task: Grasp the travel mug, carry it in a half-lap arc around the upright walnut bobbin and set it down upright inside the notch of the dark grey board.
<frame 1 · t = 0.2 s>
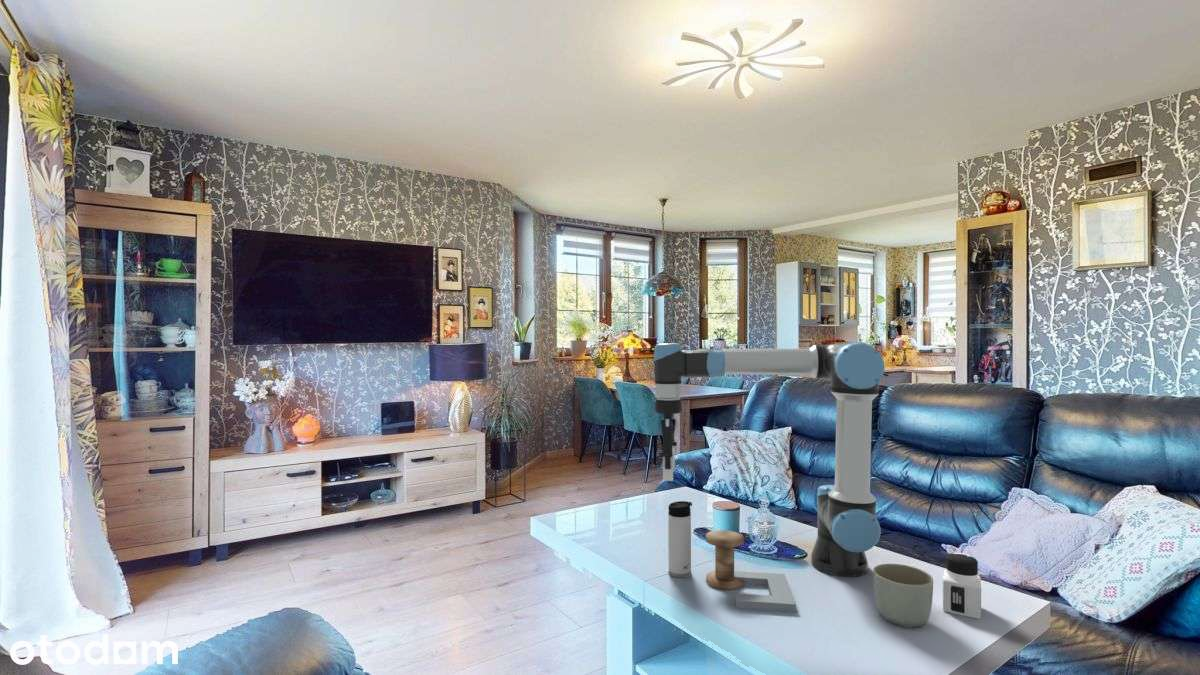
hand: (669, 474, 163), 28 cm above the table, fingers open, 13 cm apart
planter: (902, 621, 136), on the table
container: (961, 610, 142), on the table
bobbin: (724, 582, 158), on the table
travel mug: (680, 574, 163), on the table
notched board: (761, 594, 150), on the table
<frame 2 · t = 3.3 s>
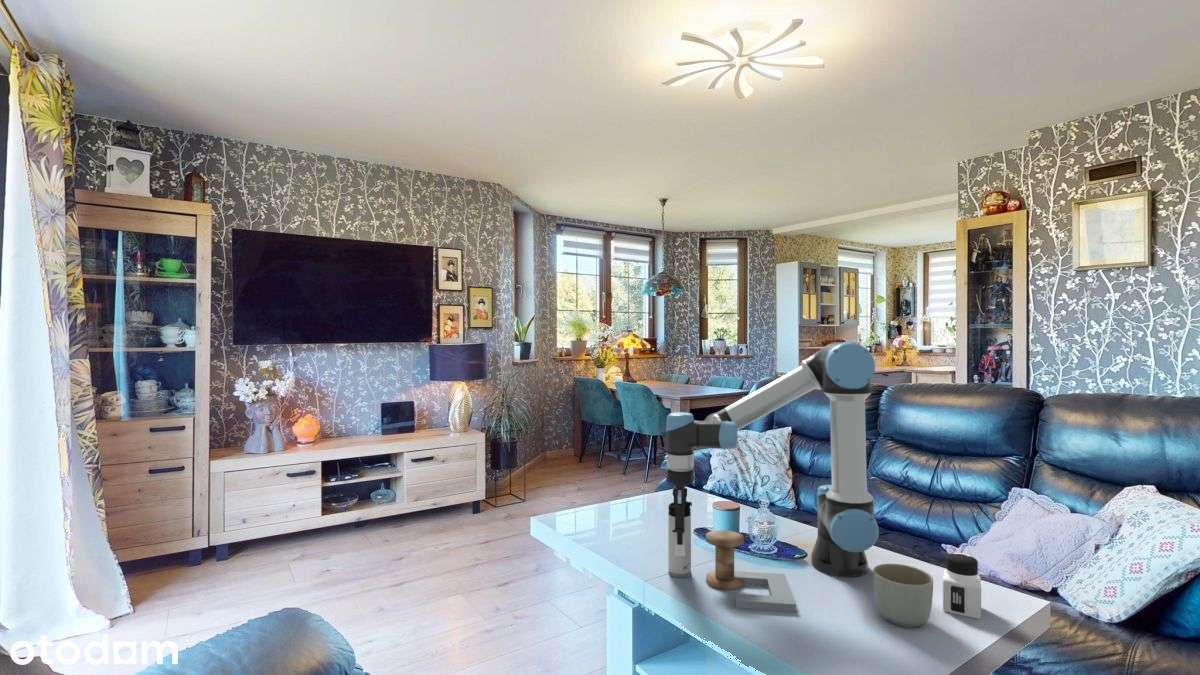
hand: (680, 550, 163), 6 cm above the table, fingers closed on travel mug, 6 cm apart
travel mug: (680, 574, 163), on the table, touching gripper
everything else where it was.
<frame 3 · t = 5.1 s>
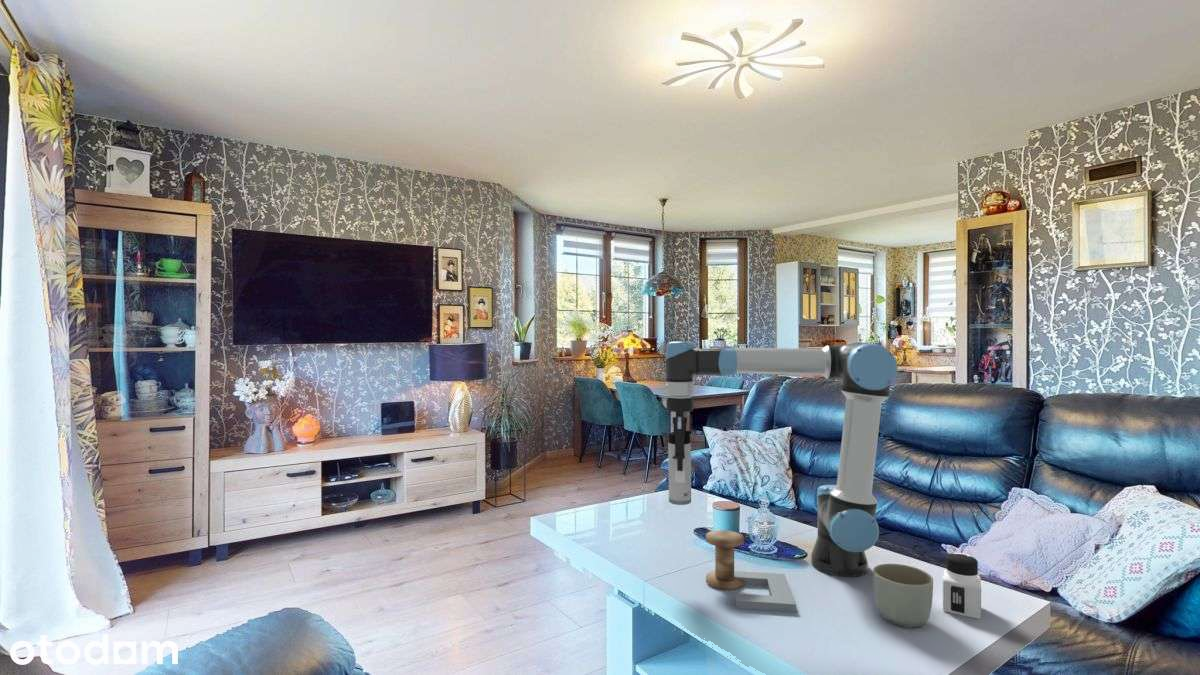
hand: (680, 478, 163), 27 cm above the table, fingers closed on travel mug, 6 cm apart
travel mug: (680, 502, 163), point 20 cm above the table, touching gripper
everything else where it was.
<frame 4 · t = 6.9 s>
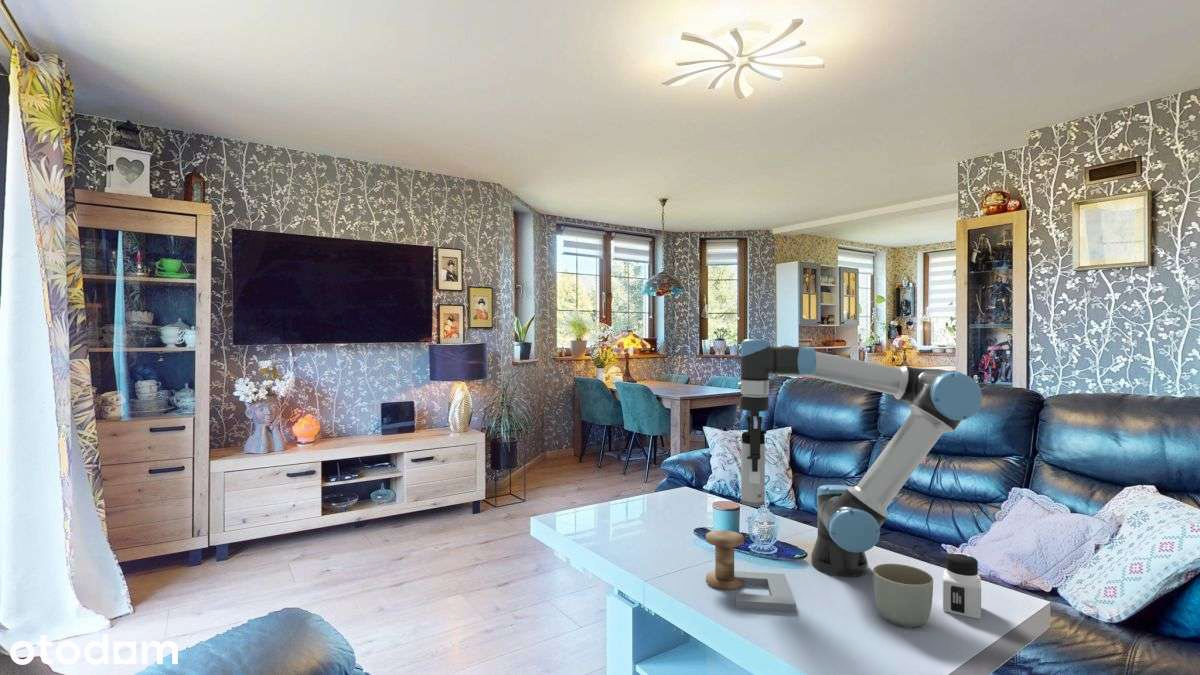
hand: (753, 479, 159), 27 cm above the table, fingers closed on travel mug, 6 cm apart
travel mug: (753, 504, 160), point 20 cm above the table, touching gripper
everything else where it was.
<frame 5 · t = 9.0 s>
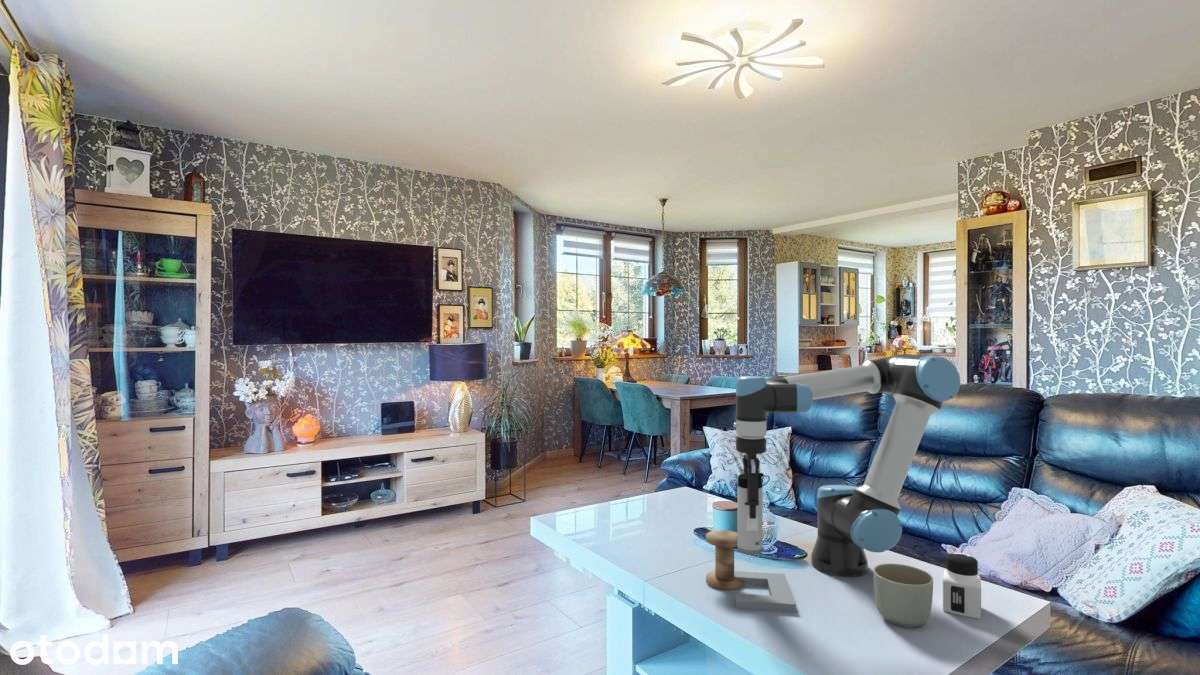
hand: (750, 525, 150), 18 cm above the table, fingers closed on travel mug, 6 cm apart
travel mug: (750, 551, 151), point 11 cm above the table, touching gripper
everything else where it was.
when the fingers open (8 cm above the table, at t = 10.7 s): travel mug drops 2 cm, on the table.
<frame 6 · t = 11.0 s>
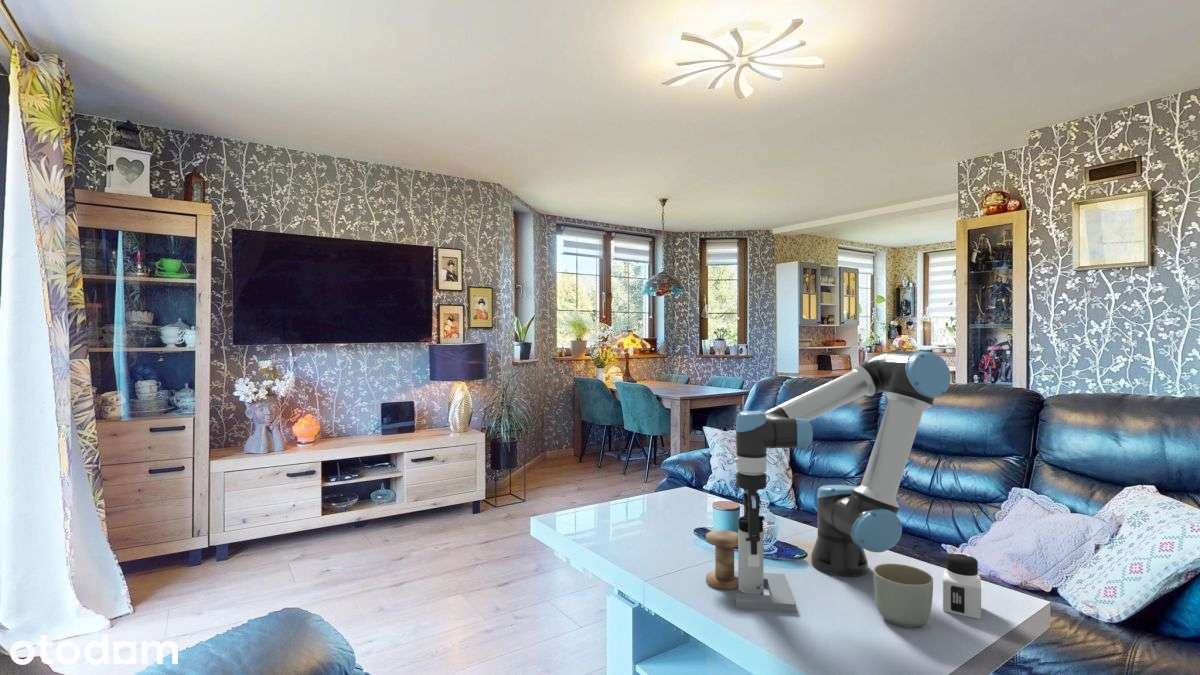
hand: (751, 558, 151), 9 cm above the table, fingers open, 9 cm apart
travel mug: (751, 594, 151), on the table
everything else where it was.
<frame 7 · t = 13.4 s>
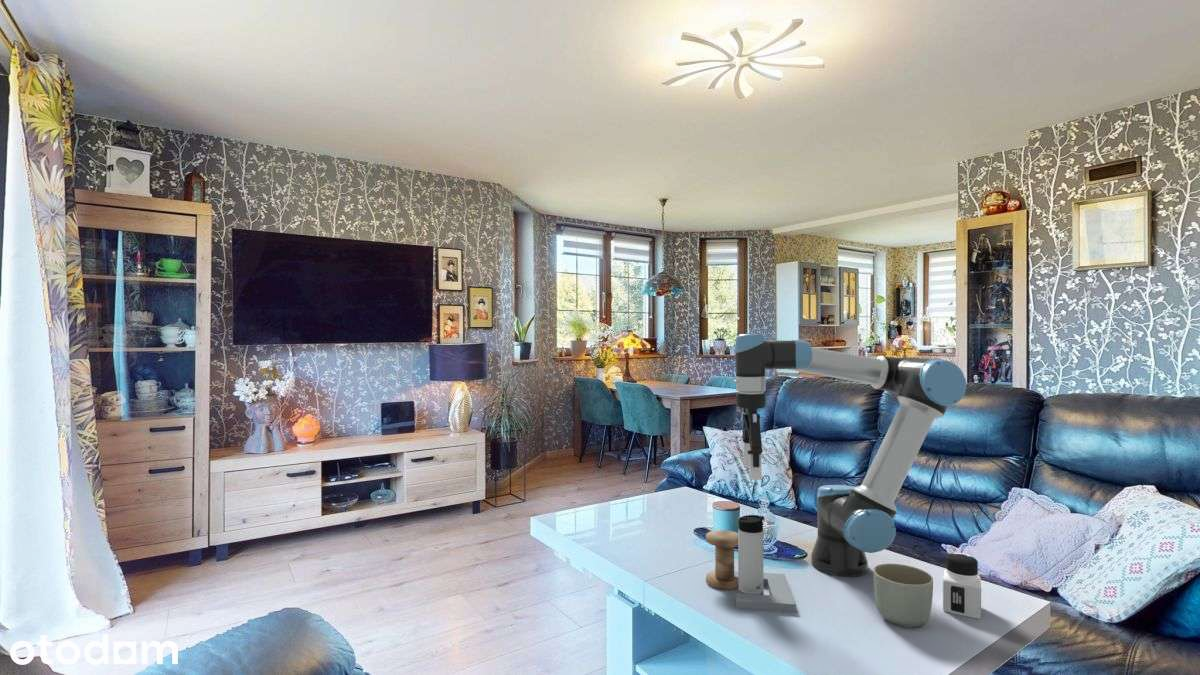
hand: (752, 473, 154), 30 cm above the table, fingers open, 13 cm apart
nothing on the table moved.
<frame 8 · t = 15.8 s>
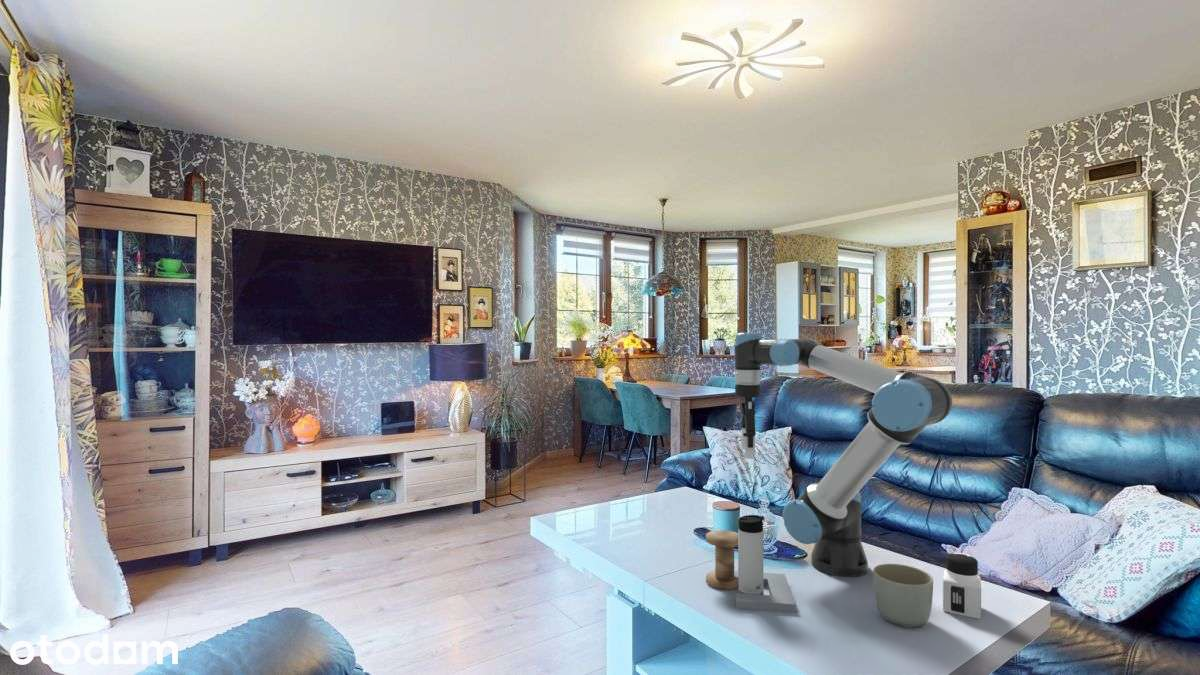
hand: (748, 453, 177), 31 cm above the table, fingers open, 13 cm apart
nothing on the table moved.
at the end: travel mug inside the target area (0.5 cm from its centre), on the table; travel mug tilted 0°; the gripper is holding nothing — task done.
